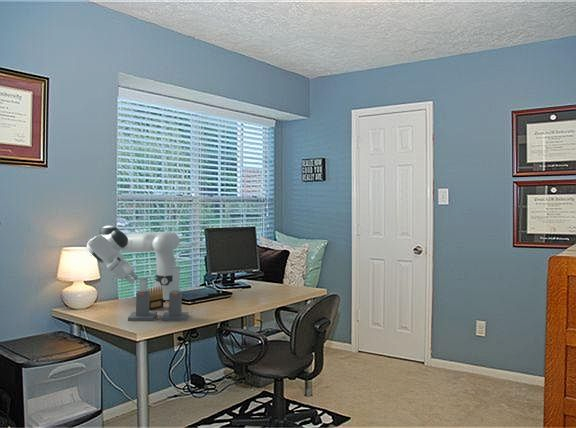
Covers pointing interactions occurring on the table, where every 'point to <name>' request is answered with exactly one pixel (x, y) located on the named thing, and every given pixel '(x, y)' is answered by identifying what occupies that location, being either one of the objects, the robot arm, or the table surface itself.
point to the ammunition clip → (156, 298)
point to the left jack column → (143, 285)
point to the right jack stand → (175, 300)
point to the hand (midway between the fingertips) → (135, 281)
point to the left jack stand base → (142, 308)
